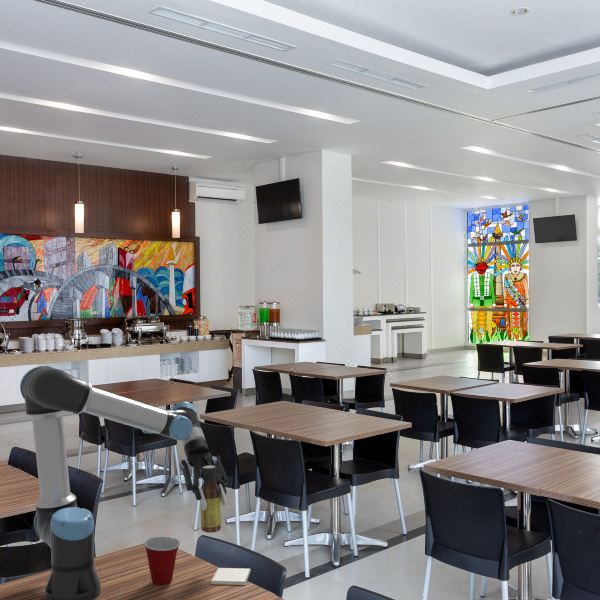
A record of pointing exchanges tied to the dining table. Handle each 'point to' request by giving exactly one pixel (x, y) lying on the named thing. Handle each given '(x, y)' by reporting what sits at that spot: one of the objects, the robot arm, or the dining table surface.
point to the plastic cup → (161, 558)
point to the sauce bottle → (211, 502)
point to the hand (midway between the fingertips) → (215, 506)
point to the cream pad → (231, 576)
